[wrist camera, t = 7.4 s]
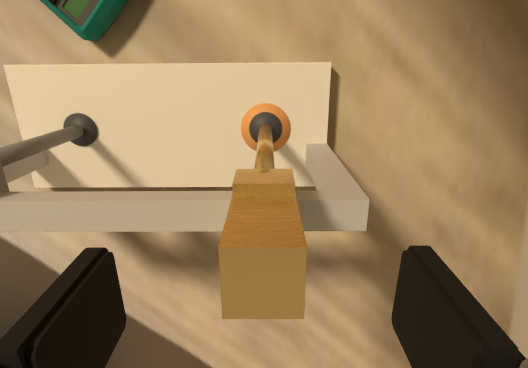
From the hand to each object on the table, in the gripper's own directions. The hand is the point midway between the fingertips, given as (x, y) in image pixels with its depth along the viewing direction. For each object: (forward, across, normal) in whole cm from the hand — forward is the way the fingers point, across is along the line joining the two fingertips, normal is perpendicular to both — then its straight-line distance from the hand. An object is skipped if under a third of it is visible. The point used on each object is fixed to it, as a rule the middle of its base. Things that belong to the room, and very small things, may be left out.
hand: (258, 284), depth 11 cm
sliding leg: (+22, 0, +1) cm, 22 cm away
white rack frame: (+25, +9, 0) cm, 26 cm away
